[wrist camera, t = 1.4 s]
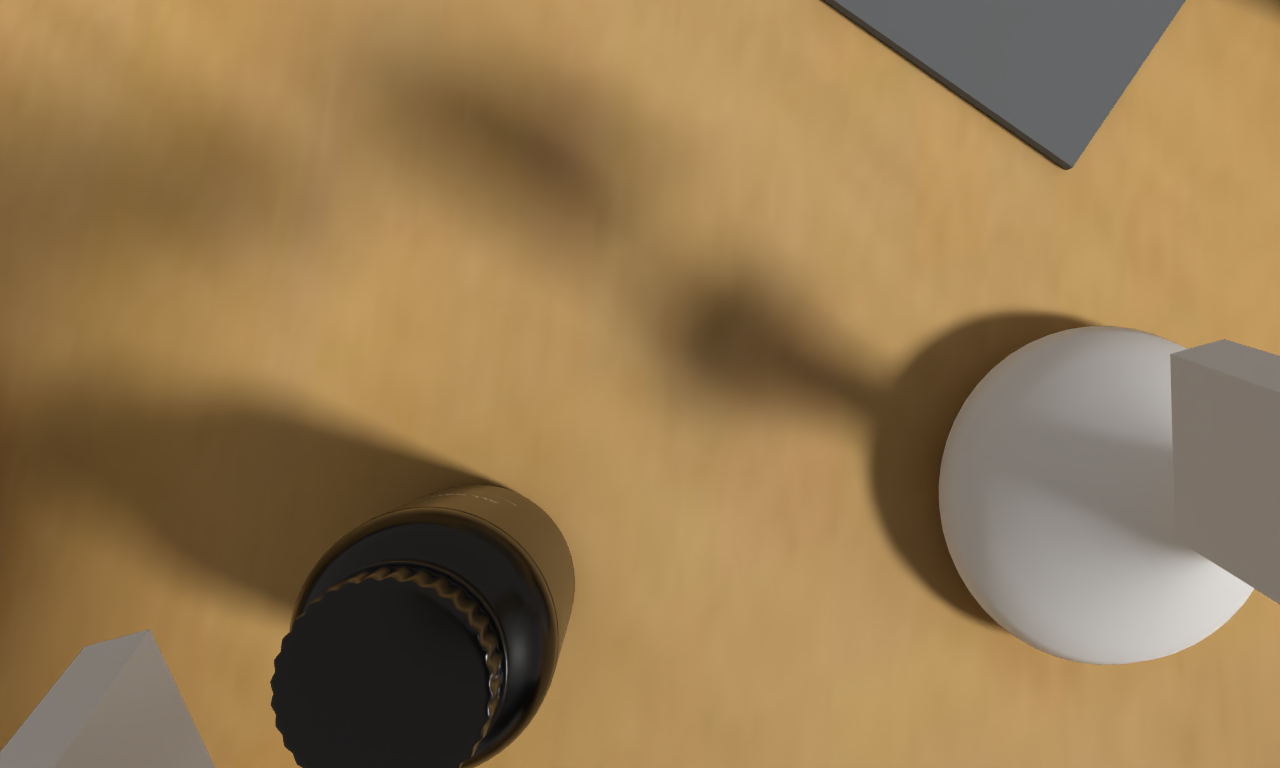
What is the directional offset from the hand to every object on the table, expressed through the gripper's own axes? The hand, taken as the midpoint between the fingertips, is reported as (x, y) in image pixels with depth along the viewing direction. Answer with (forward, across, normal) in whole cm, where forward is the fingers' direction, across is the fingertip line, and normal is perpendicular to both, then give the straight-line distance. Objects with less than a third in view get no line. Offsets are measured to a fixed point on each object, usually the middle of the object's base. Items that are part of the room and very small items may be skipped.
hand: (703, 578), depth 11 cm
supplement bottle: (+18, +6, +9) cm, 21 cm away
